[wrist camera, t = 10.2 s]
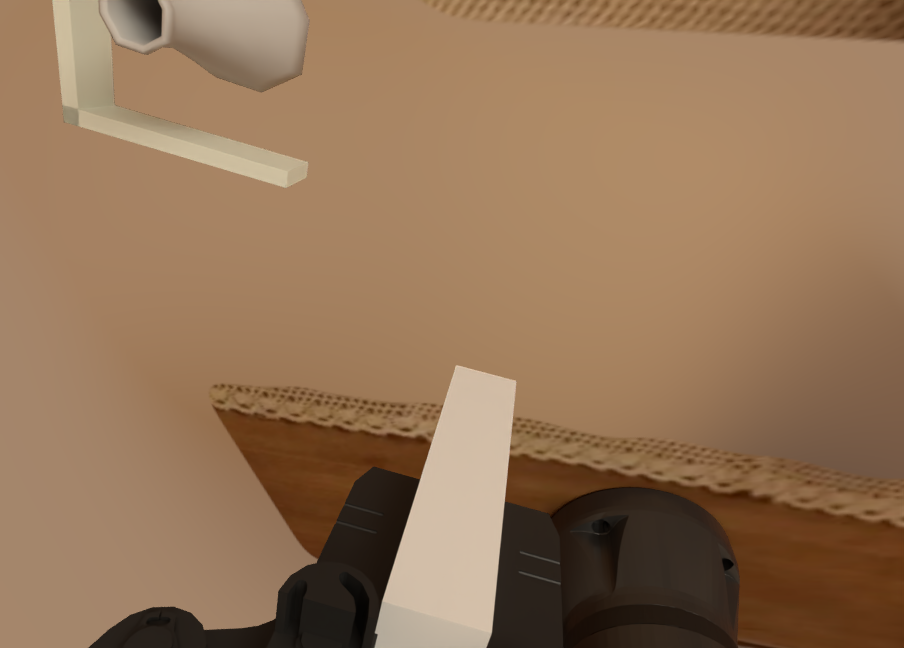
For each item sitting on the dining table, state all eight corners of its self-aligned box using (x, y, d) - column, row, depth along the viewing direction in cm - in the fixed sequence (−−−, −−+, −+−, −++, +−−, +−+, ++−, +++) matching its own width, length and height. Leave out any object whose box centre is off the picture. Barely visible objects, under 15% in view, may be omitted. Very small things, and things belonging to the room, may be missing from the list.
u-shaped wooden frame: (306, 177, 34) (286, 188, 32) (100, 116, 35) (63, 122, 32) (337, -87, 28) (315, -102, 25) (83, -159, 28) (35, -181, 26)
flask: (208, 93, 33) (84, 107, 24) (178, -48, 30) (22, -92, 21) (320, 90, 32) (232, 104, 23) (301, -58, 29) (190, -108, 20)
